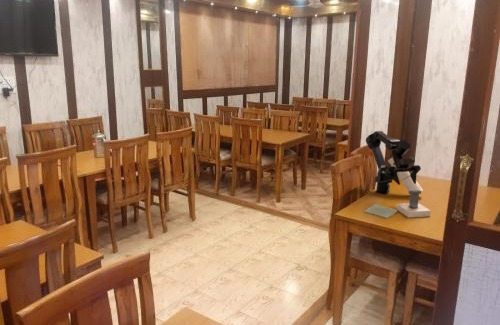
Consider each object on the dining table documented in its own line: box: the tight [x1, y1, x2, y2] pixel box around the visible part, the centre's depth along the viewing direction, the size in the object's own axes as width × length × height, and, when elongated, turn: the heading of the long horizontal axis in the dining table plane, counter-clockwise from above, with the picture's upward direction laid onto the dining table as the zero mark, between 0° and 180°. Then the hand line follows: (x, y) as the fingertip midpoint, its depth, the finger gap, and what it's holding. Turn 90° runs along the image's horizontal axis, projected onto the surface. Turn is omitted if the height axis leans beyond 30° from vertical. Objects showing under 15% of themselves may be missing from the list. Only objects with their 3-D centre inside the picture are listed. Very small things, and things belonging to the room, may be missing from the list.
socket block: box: [395, 202, 431, 219], centre depth 204 cm, size 12×12×3 cm
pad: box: [363, 204, 399, 219], centre depth 206 cm, size 13×13×1 cm
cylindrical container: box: [387, 157, 424, 193], centre depth 230 cm, size 7×7×25 cm
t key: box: [408, 190, 422, 209], centre depth 203 cm, size 3×6×12 cm, turn 99°
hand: (407, 184), depth 209 cm, fingers open, 9 cm apart
